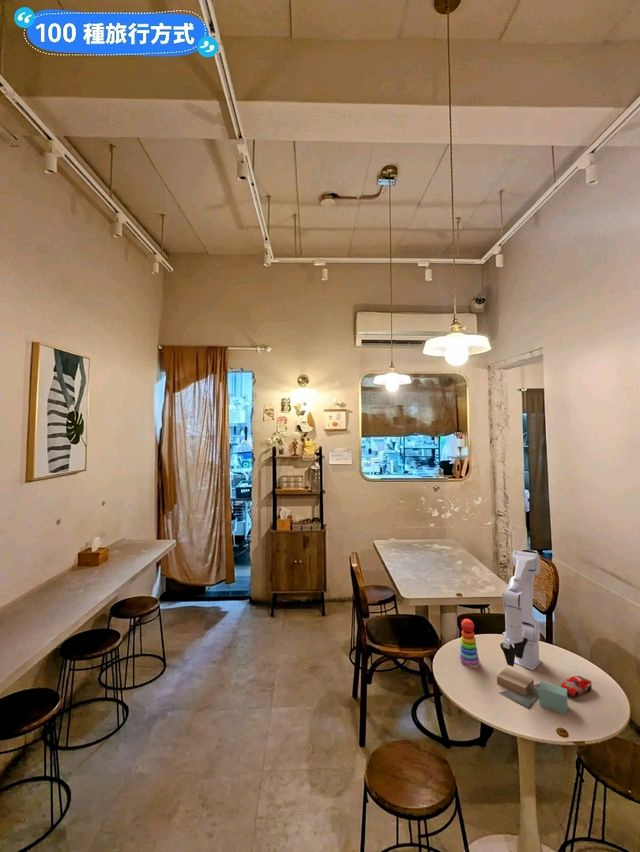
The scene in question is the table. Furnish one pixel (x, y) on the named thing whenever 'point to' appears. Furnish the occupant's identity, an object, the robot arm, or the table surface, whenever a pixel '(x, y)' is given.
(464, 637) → the stacking toy
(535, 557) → the robot arm
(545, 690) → the teal brick
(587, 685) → the race car
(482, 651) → the table surface
